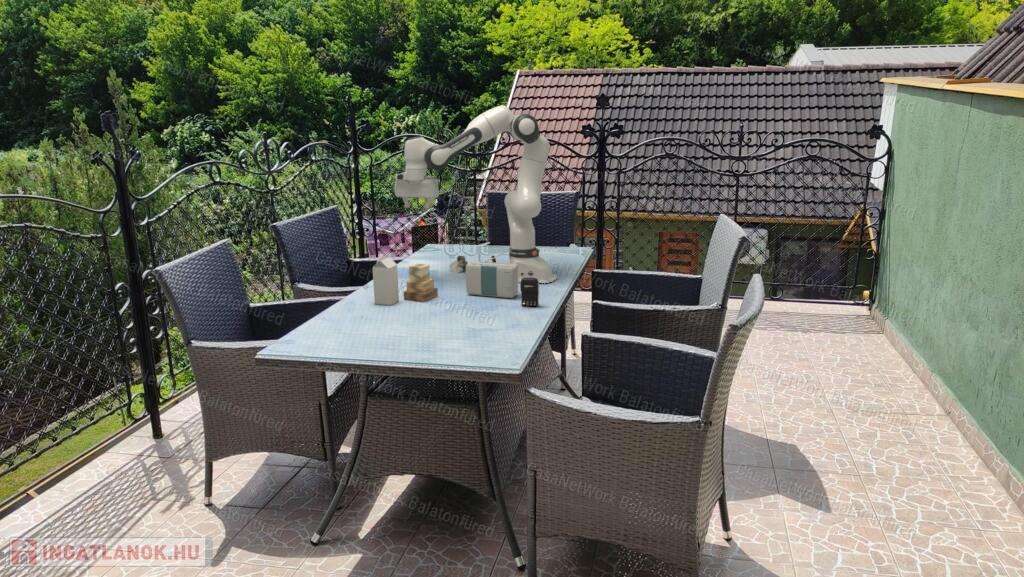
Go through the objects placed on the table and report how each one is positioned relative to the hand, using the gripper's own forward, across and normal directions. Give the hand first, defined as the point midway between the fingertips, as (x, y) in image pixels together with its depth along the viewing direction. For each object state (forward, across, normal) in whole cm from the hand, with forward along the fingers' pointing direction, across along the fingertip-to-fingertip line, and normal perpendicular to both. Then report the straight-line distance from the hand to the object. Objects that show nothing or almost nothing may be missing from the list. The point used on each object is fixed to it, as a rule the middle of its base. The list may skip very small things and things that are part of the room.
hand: (417, 207), depth 297 cm
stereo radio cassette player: (+33, -39, +9) cm, 52 cm away
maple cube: (+26, -13, +23) cm, 37 cm away
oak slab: (+30, -13, +23) cm, 40 cm away
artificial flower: (+34, -12, -29) cm, 46 cm away
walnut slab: (+34, -13, +23) cm, 43 cm away
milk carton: (+33, -4, +34) cm, 48 cm away
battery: (+33, -59, +19) cm, 70 cm away
